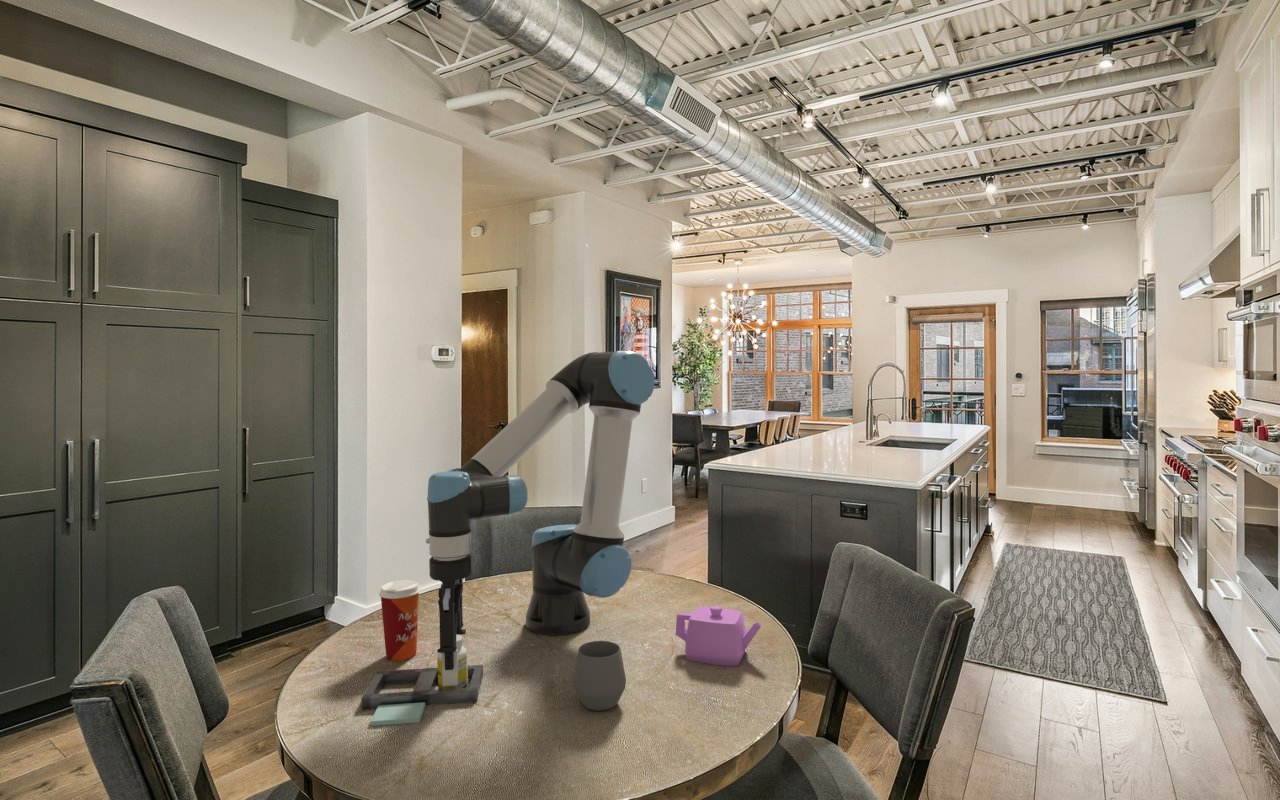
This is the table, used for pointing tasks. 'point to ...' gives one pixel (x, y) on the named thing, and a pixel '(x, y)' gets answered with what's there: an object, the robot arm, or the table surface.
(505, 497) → the robot arm
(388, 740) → the table surface
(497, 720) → the table surface
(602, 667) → the cup
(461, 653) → the supplement bottle
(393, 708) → the mat
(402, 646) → the coffee cup
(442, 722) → the table surface
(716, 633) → the teapot
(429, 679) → the grey rectangular frame
